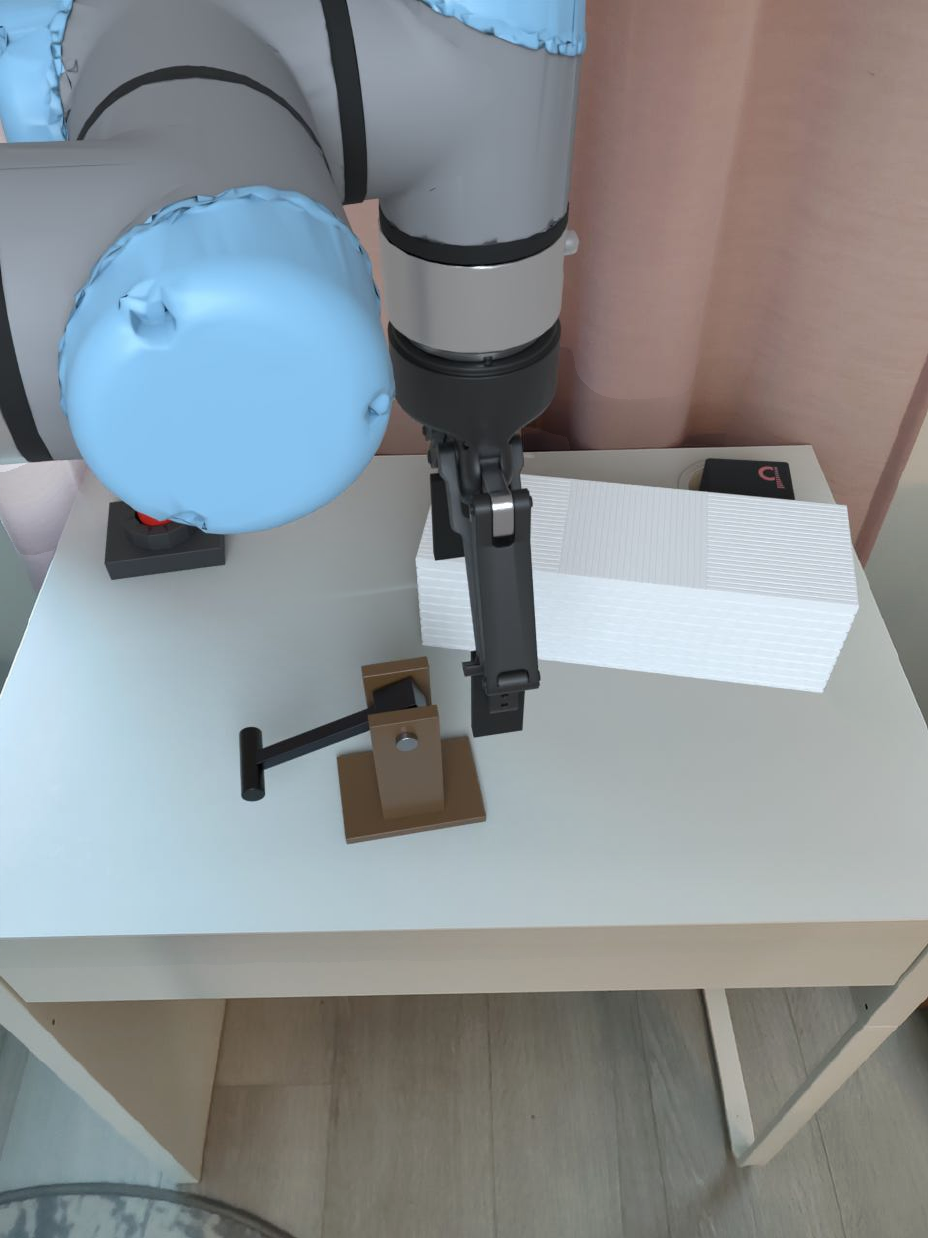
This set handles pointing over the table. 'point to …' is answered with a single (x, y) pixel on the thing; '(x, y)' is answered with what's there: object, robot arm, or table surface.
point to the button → (151, 520)
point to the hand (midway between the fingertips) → (474, 635)
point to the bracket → (407, 767)
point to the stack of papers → (671, 583)
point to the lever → (315, 736)
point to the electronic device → (747, 478)
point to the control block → (156, 546)
